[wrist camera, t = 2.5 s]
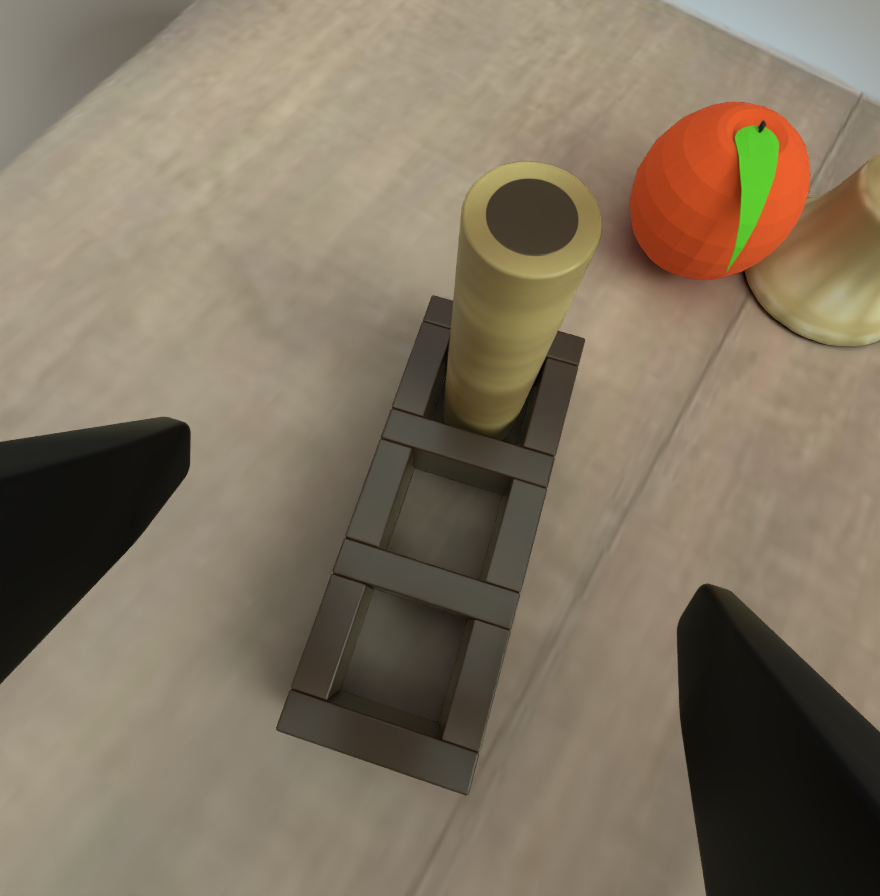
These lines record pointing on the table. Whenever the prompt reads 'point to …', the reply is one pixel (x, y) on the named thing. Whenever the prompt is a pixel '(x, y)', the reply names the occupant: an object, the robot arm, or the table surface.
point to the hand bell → (829, 266)
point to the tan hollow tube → (513, 287)
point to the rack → (432, 568)
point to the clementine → (720, 190)
